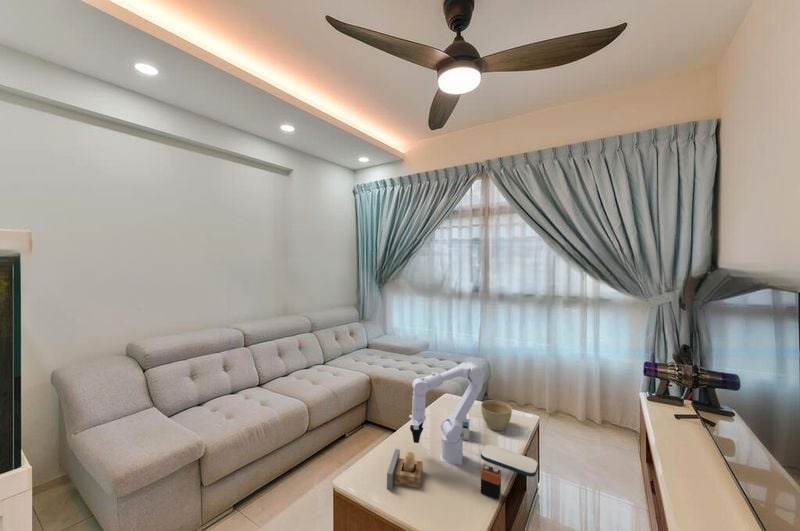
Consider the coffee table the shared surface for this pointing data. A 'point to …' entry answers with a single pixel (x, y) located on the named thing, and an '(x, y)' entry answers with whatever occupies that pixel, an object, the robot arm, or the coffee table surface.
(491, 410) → the planter bowl
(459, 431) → the robot arm
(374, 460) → the coffee table surface
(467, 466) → the coffee table surface
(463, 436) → the light bulb box
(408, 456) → the oak dowel
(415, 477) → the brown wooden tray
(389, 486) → the slate stop wall
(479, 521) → the coffee table surface
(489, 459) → the white teal rounded slab
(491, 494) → the battery
